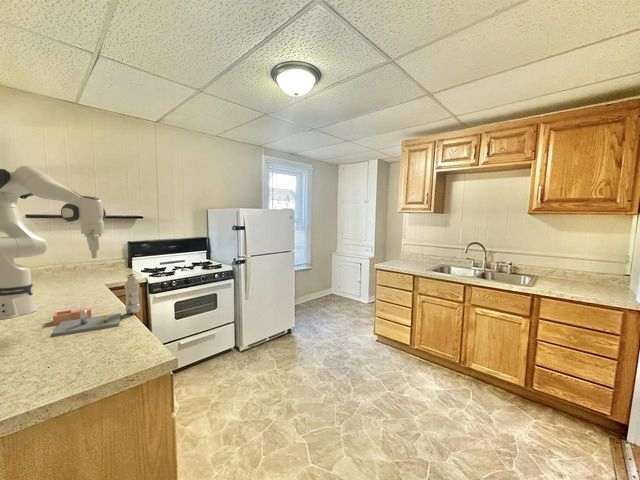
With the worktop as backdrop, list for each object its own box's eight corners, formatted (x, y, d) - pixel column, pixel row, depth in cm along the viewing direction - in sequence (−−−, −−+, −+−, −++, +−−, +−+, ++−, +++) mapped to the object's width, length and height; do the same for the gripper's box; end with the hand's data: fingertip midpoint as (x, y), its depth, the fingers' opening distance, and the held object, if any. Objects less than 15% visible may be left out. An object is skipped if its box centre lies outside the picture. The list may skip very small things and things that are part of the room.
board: (52, 337, 112) (52, 333, 112) (61, 324, 124) (61, 321, 124) (119, 326, 124) (118, 323, 124) (120, 316, 136) (120, 313, 136)
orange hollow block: (53, 325, 124) (52, 316, 124) (54, 320, 129) (54, 312, 129) (91, 318, 132) (90, 310, 132) (91, 314, 137) (90, 306, 137)
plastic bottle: (124, 316, 136) (122, 276, 134) (126, 312, 142) (125, 274, 140) (139, 314, 139) (138, 275, 137) (141, 310, 145) (139, 273, 143)
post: (79, 324, 121) (78, 311, 121) (82, 322, 123) (81, 309, 123) (106, 323, 124) (105, 310, 123) (108, 321, 126) (108, 308, 125)
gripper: (102, 230, 127) (103, 260, 128) (100, 228, 143) (101, 255, 144) (84, 231, 123) (85, 261, 124) (84, 229, 139) (85, 255, 140)
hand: (94, 257), depth 134 cm, fingers closed
